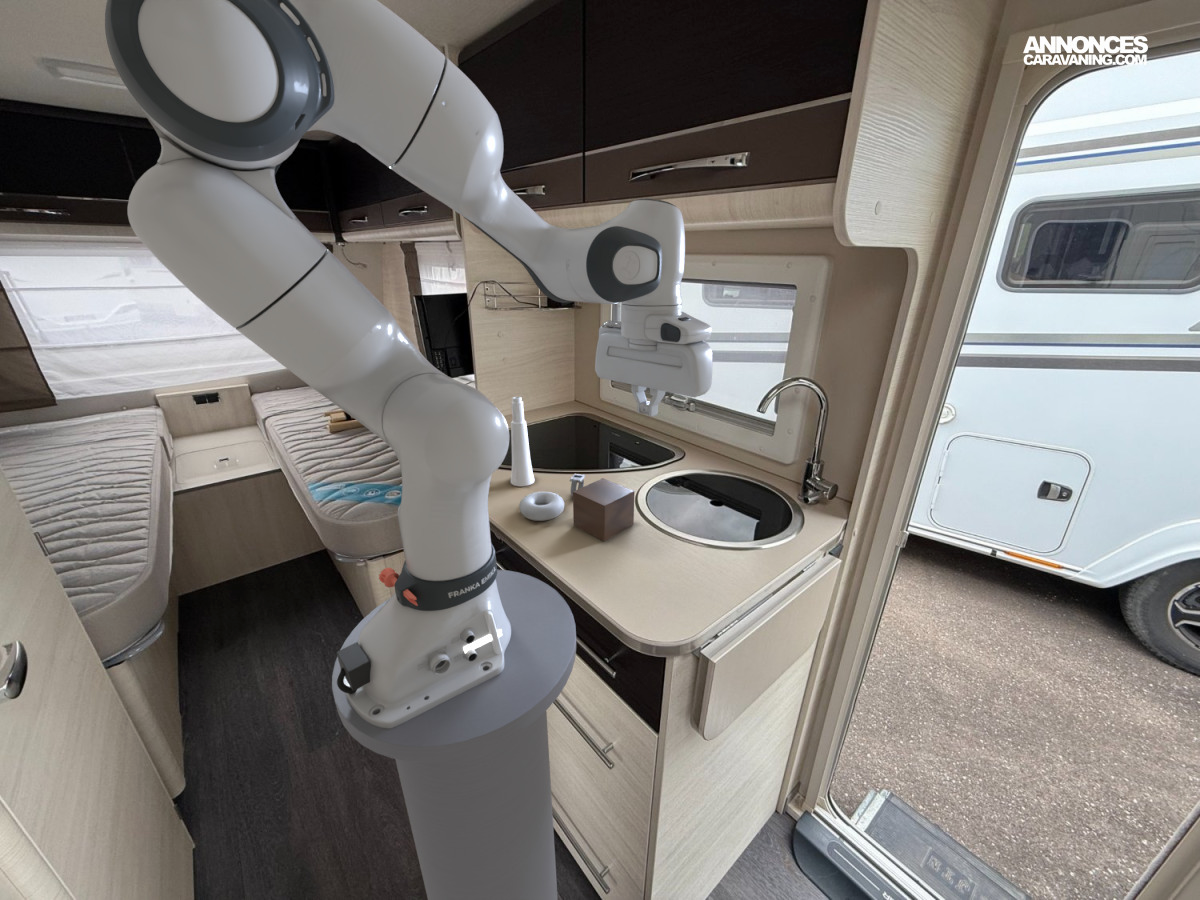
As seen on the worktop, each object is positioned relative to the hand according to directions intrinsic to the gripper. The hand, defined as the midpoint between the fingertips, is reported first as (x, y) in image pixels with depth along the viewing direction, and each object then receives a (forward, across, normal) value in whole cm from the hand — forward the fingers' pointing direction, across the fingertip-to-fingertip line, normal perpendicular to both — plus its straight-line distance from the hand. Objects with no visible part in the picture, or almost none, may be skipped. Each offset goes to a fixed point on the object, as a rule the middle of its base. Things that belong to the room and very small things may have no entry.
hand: (647, 414), depth 74 cm
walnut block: (+29, -15, +6) cm, 33 cm away
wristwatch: (+29, -29, +12) cm, 43 cm away
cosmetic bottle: (+29, -45, +8) cm, 54 cm away
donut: (+29, -29, +1) cm, 41 cm away
